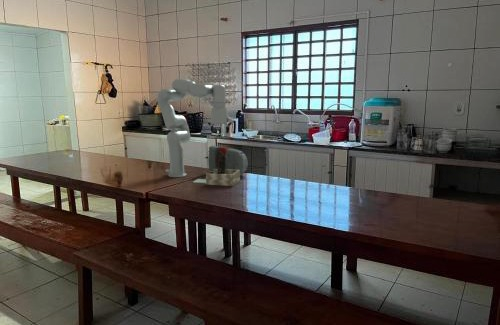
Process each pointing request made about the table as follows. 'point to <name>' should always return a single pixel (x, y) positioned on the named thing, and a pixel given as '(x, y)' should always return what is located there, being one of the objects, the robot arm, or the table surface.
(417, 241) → the table surface
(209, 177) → the beige woven basket
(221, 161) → the statue
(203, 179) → the mat
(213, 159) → the decorative stone tablet
